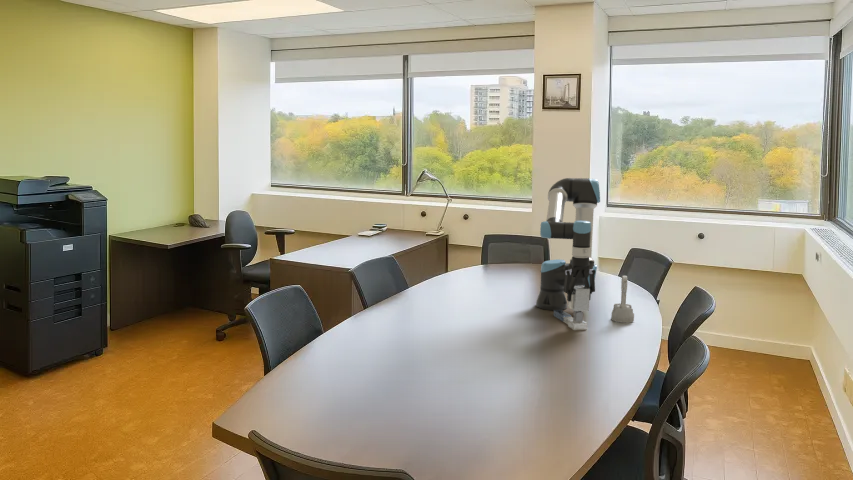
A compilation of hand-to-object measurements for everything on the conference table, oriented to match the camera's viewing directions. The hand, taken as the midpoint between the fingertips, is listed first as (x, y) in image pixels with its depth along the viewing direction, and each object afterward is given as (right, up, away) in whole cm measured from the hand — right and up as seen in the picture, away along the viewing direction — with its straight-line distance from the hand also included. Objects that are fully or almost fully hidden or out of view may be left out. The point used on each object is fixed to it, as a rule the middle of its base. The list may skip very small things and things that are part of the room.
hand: (578, 308), depth 288 cm
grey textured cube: (0, -1, 0) cm, 0 cm away
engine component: (+24, -7, +16) cm, 30 cm away
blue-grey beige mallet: (-2, -8, +10) cm, 13 cm away
